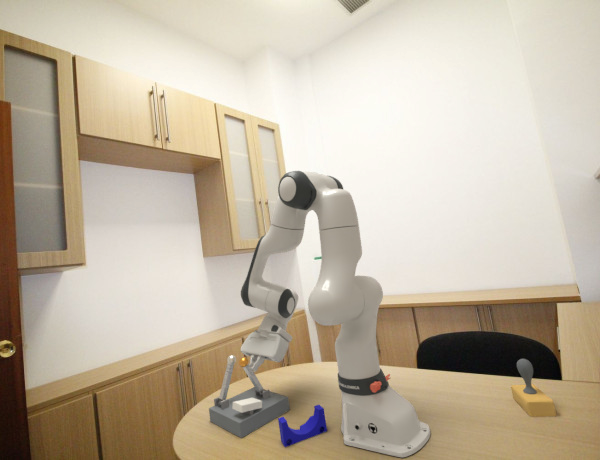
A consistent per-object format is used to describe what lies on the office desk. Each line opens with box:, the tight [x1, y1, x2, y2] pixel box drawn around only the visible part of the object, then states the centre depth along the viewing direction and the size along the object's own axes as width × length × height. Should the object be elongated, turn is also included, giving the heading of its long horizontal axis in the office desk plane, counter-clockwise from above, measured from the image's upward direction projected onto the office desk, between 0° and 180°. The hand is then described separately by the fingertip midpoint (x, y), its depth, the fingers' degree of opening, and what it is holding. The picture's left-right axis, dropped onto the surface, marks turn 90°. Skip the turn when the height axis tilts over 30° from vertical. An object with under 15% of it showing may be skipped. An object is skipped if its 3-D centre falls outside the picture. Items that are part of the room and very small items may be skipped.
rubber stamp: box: [510, 358, 557, 418], centre depth 81 cm, size 10×6×12 cm, turn 166°
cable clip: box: [277, 404, 328, 448], centre depth 84 cm, size 12×4×6 cm, turn 111°
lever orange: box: [238, 356, 264, 396], centre depth 101 cm, size 3×3×15 cm
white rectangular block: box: [232, 398, 262, 413], centre depth 93 cm, size 5×7×2 cm
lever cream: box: [217, 354, 237, 406], centre depth 103 cm, size 3×3×15 cm
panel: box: [208, 386, 291, 439], centre depth 100 cm, size 18×18×6 cm
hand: (251, 370), depth 102 cm, fingers closed, pressing on lever orange
